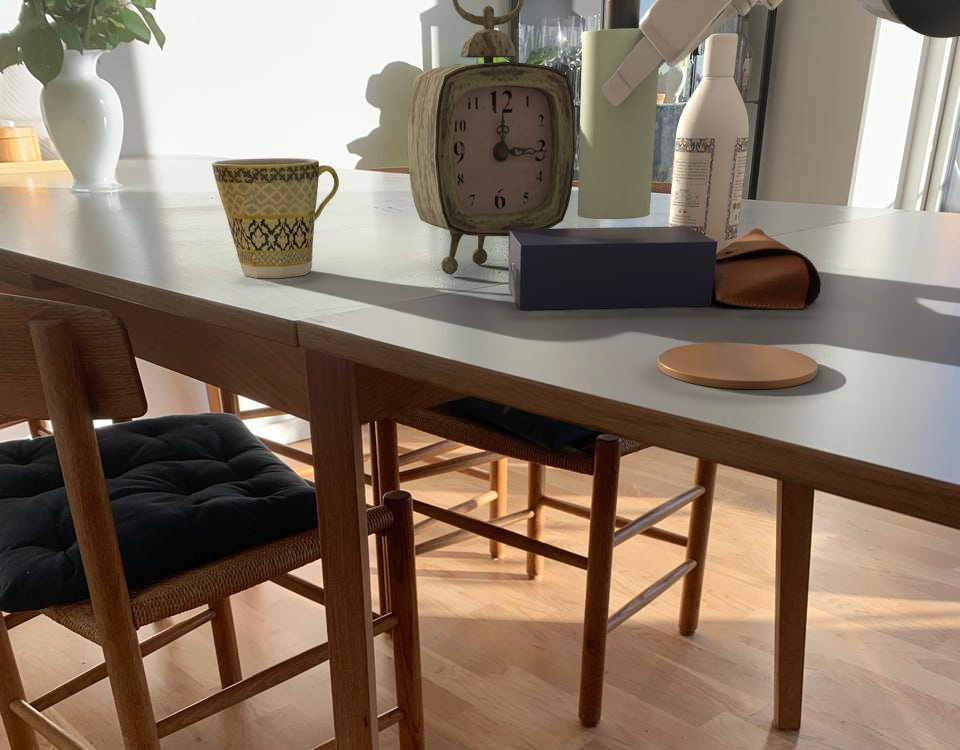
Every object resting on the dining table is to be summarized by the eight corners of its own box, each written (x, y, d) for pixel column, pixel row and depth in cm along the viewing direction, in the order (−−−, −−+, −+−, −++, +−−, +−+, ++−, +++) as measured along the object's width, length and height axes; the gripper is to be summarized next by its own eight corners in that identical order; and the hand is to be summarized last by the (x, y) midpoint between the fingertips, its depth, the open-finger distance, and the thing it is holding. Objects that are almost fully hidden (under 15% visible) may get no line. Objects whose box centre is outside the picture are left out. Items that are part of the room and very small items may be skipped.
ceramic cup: (259, 285, 89) (244, 166, 84) (208, 272, 95) (192, 161, 90) (371, 269, 96) (365, 159, 91) (318, 258, 102) (309, 155, 97)
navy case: (681, 284, 87) (687, 226, 85) (712, 306, 79) (719, 241, 76) (507, 288, 86) (507, 229, 84) (518, 310, 78) (519, 245, 75)
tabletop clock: (438, 279, 90) (429, -40, 78) (405, 266, 98) (392, -29, 85) (571, 268, 96) (582, -34, 83) (530, 256, 103) (535, -23, 90)
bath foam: (718, 256, 101) (743, 36, 91) (744, 267, 95) (773, 32, 85) (656, 259, 100) (674, 36, 90) (678, 269, 94) (700, 32, 84)
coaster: (784, 348, 66) (786, 340, 65) (842, 387, 57) (843, 378, 57) (643, 351, 65) (643, 344, 65) (679, 391, 57) (680, 383, 56)
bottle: (641, 210, 82) (653, 1, 74) (657, 217, 77) (671, -5, 69) (572, 212, 82) (577, 3, 74) (583, 220, 76) (590, -4, 69)
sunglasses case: (679, 266, 92) (721, 202, 89) (736, 304, 94) (779, 242, 91) (716, 303, 77) (769, 226, 74) (784, 347, 79) (838, 274, 76)
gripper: (795, -39, 60) (632, 136, 67) (768, -11, 78) (640, 126, 84) (732, -123, 59) (571, 64, 65) (718, -76, 76) (592, 69, 83)
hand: (610, 99), depth 75 cm, fingers closed on bottle, 6 cm apart
